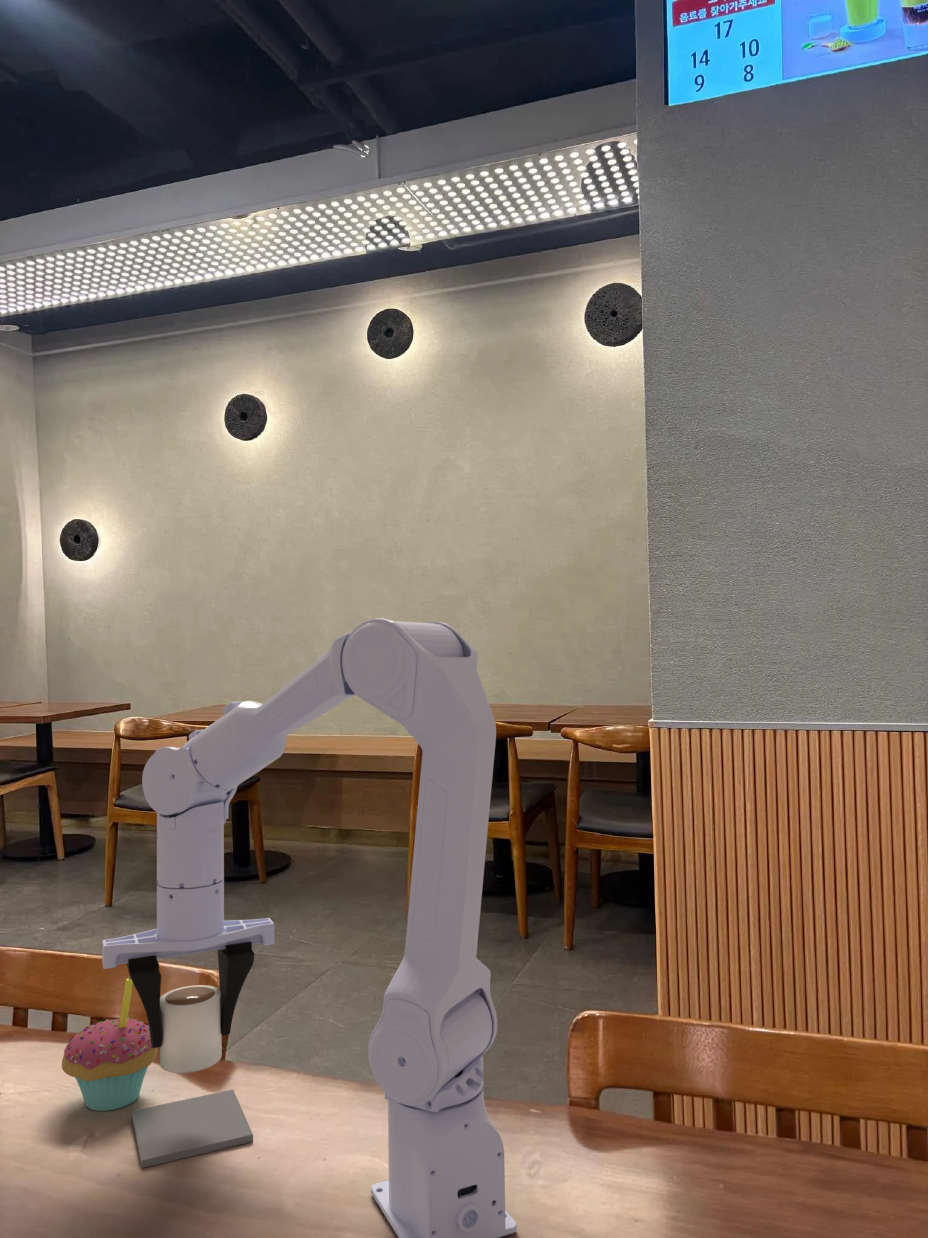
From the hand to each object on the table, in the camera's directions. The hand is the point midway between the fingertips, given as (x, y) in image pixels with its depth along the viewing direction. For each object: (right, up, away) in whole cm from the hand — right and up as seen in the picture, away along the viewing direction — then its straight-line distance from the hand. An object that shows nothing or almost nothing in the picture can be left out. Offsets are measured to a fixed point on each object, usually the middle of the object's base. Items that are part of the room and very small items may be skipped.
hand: (190, 1037), depth 79 cm
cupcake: (-9, -9, +5) cm, 14 cm away
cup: (0, -2, 0) cm, 2 cm away
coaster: (0, -8, 0) cm, 8 cm away
